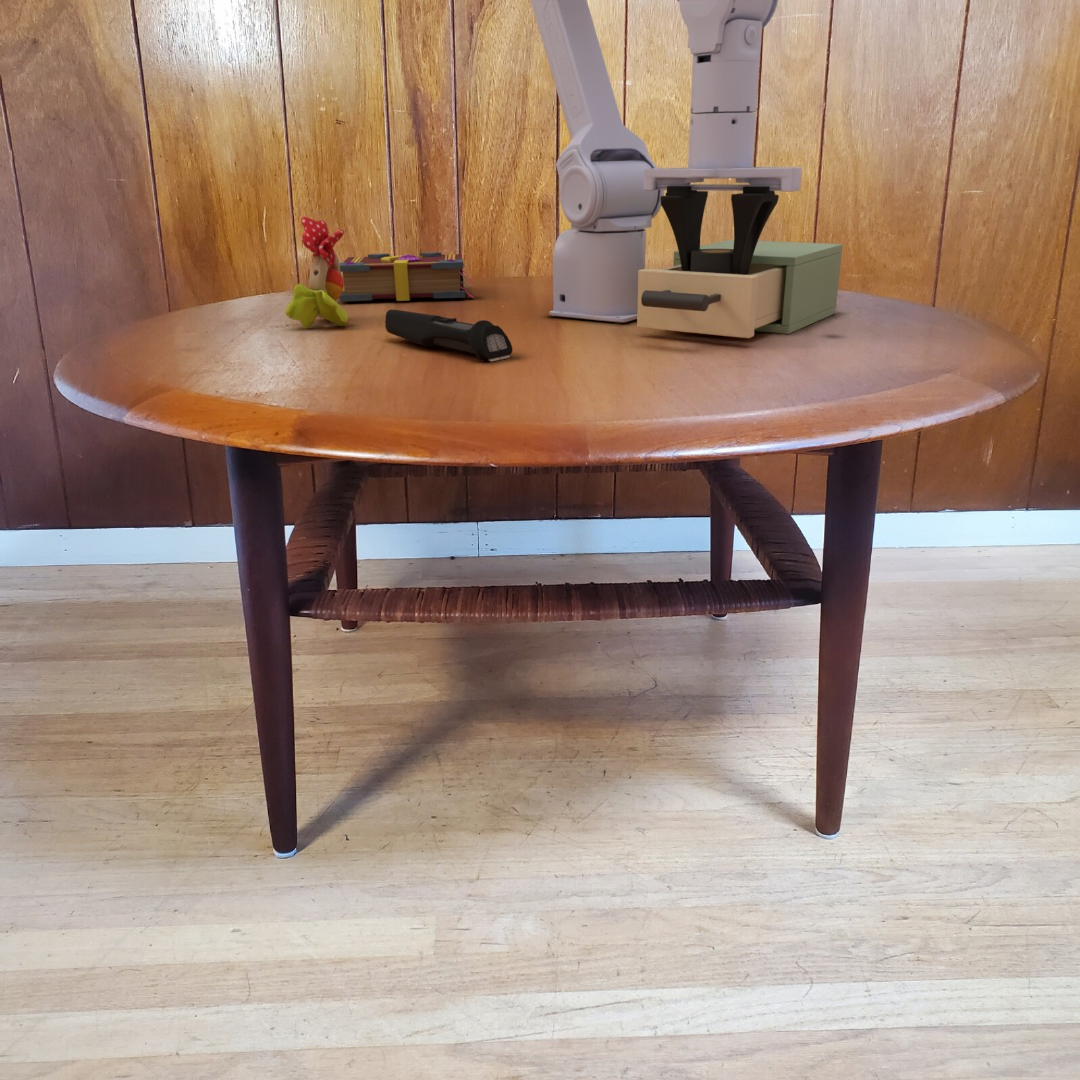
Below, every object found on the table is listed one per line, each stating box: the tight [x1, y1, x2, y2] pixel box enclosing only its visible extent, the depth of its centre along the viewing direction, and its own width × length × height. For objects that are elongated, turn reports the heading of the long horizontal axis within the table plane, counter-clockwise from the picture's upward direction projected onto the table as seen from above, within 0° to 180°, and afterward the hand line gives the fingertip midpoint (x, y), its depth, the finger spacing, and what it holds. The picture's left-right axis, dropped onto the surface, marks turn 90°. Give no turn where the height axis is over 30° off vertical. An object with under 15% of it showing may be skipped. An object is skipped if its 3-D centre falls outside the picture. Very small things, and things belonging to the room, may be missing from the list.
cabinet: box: [672, 239, 844, 335], centre depth 95 cm, size 14×13×7 cm
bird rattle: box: [284, 216, 349, 329], centre depth 96 cm, size 6×11×9 cm
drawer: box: [636, 264, 787, 339], centre depth 87 cm, size 17×11×5 cm
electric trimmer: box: [384, 308, 513, 362], centre depth 84 cm, size 4×16×3 cm, turn 45°
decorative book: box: [339, 251, 475, 303], centre depth 115 cm, size 11×16×5 cm
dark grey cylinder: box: [690, 249, 733, 274], centre depth 86 cm, size 5×5×4 cm
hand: (714, 273), depth 86 cm, fingers closed on dark grey cylinder, 4 cm apart
